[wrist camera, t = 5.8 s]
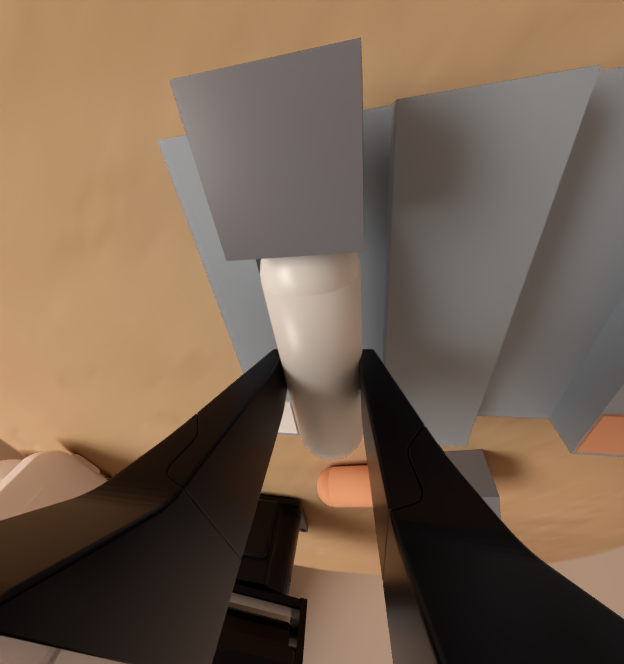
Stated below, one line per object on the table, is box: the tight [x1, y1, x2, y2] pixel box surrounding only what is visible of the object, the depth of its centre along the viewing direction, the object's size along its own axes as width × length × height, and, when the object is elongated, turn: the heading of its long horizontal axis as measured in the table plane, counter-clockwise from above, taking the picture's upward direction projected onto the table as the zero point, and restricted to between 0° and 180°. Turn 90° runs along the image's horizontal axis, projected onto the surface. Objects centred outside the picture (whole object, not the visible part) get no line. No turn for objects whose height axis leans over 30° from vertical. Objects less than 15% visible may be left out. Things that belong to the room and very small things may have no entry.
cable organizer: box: [0, 451, 108, 521], centre depth 26 cm, size 15×11×12 cm
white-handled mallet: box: [169, 38, 364, 460], centre depth 8 cm, size 12×3×3 cm, turn 7°
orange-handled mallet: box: [317, 449, 501, 519], centre depth 19 cm, size 12×3×3 cm, turn 112°
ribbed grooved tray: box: [157, 65, 624, 457], centre depth 10 cm, size 13×16×3 cm
